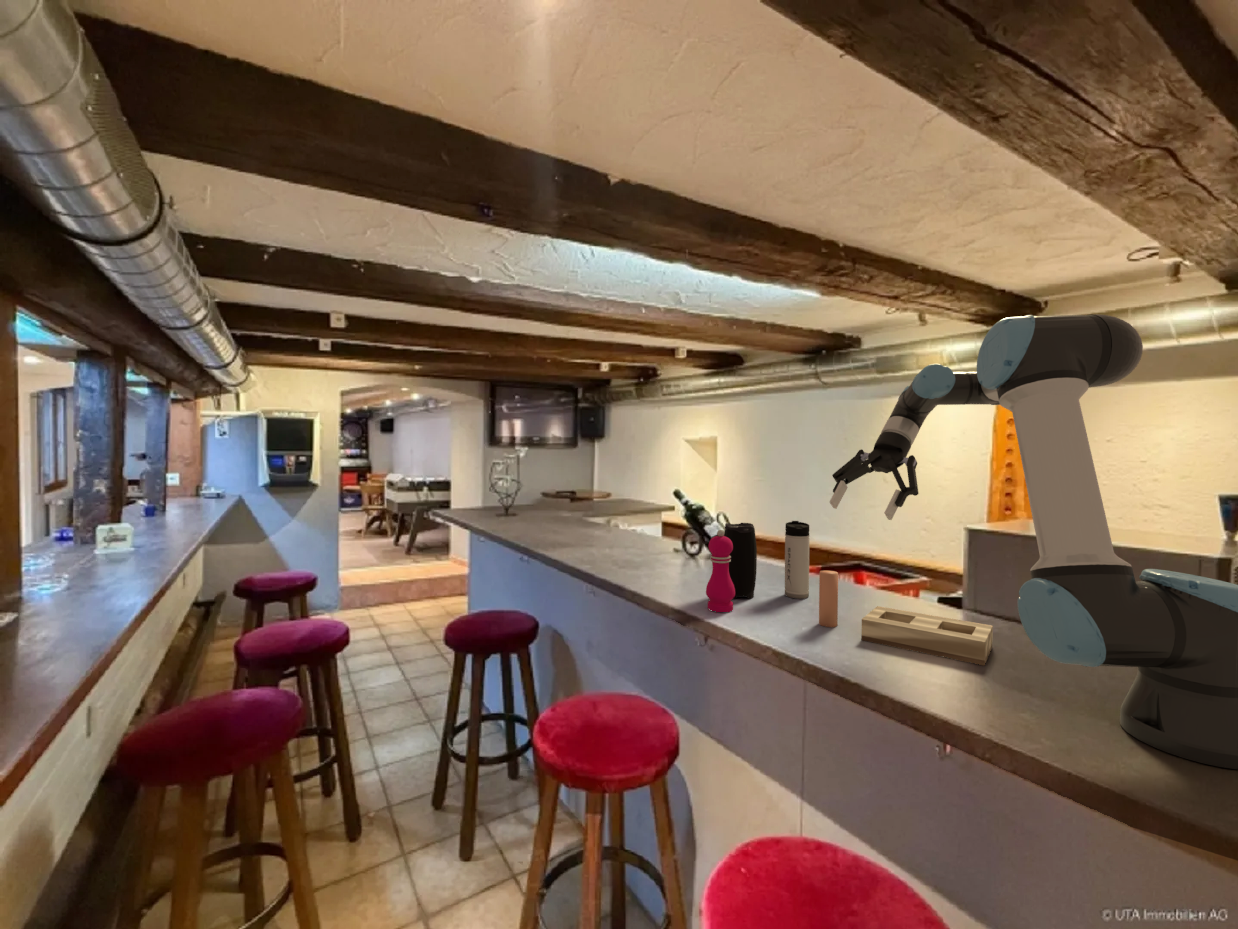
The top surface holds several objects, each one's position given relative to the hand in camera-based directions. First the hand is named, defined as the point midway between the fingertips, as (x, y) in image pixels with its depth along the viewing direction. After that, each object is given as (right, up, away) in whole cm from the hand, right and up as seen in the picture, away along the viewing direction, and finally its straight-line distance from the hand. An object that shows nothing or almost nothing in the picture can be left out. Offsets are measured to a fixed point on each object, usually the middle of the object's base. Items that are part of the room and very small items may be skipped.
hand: (859, 510), depth 132 cm
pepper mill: (-30, -26, +10) cm, 41 cm away
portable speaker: (-23, -25, +22) cm, 41 cm away
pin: (-8, -26, -2) cm, 27 cm away
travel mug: (-8, -25, +22) cm, 35 cm away
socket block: (+8, -26, -14) cm, 31 cm away
